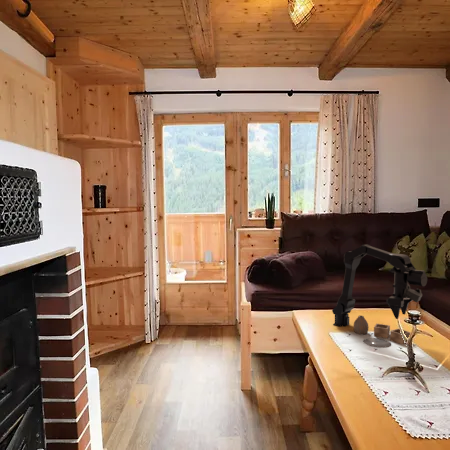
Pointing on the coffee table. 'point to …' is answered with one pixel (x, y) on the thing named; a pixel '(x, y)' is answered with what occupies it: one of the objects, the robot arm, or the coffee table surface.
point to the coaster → (377, 342)
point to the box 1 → (382, 330)
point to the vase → (361, 325)
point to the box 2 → (398, 336)
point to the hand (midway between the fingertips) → (400, 316)
